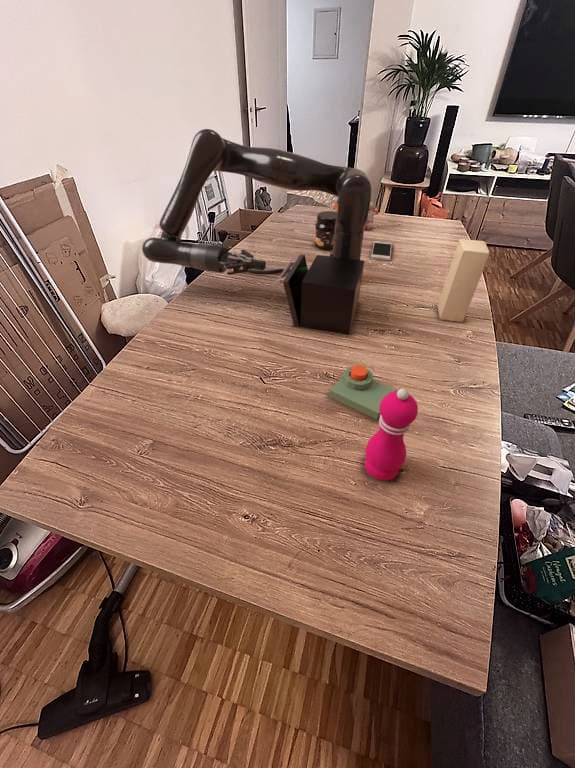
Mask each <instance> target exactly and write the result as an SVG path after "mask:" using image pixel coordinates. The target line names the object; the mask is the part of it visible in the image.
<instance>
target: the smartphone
mask: <svg viewBox="0 0 575 768" xmlns="http://www.w3.org/2000/svg"><path fill="white" fill-rule="evenodd" d="M392 247H393V243H392V242H387V241H376V240H375V241H373V245H372V249H371V254H370V259H373V260H381V261H391V256H392V249H393V248H392Z"/></svg>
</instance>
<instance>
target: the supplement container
mask: <svg viewBox="0 0 575 768" xmlns="http://www.w3.org/2000/svg"><path fill="white" fill-rule="evenodd" d="M336 218H337V212H336V211H335V210H323V211H320V212H318V213H317V214H316V221H315V223H314V242H313V243H314V246H315V247H316V248H317V249H319V250H321V251H333V243H334V232H335V221H336Z"/></svg>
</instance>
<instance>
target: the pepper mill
mask: <svg viewBox="0 0 575 768" xmlns="http://www.w3.org/2000/svg"><path fill="white" fill-rule="evenodd" d="M379 410H380V414H381V415H380V417H379V418H378V424H379V426H380V427H379V429H378V430H377V432H376V433H374V434H373V435H372V436H371V437H370V438H369V440H368V441H367V444H366V445H365V450H364V451H365V462H364V467H365V470H366V472H367V473H368V474H369V475H370V476H371V477H372V478H373V479H376V480H378V481H391V480H393V479H395V477H397V475H398V473H399V470H400V468H401V467H403V466H404V464H405V462H406V458H407V447H406V444H405V441H404V436H405V434H406V433H407V432H409V430H410V427H411V424H412V423H413V422H414V421H416V418H417V417H418V413H419V407H418V403H417V400H416V399H415V398H414V397H413V396H412V395H411V394H410V393H409V391H408V390H407V389H406V388H400V389H398V390H396V391H394V392H390V393H388V394H387V395H385V396H384V398H383V399H382V401H381V403H380V407H379Z"/></svg>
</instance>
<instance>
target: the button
mask: <svg viewBox="0 0 575 768" xmlns="http://www.w3.org/2000/svg"><path fill="white" fill-rule="evenodd" d="M352 366H353V367H352ZM352 366H351V367H352V369H351V374H350V376H351V378H352V379H353V380H356V381H363V380H365V379H366V376H367V369H368V368H367V367H365V366H363V365H358V364H357V365H352ZM366 368H367V369H366Z"/></svg>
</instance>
